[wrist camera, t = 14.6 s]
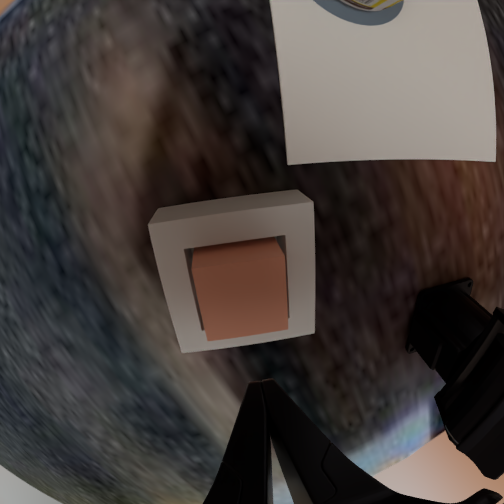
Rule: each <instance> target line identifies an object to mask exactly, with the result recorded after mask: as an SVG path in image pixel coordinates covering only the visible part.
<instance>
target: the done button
mask: <svg viewBox="0 0 504 504" xmlns="http://www.w3.org/2000/svg"><path fill="white" fill-rule="evenodd" d="M191 270H192V274H193V279H194V284H195V289H196V293H197V298H198V302H199V307H200V311H201V316H202V320H203V324H204V329H205V333H206V337H207V341H215V340H223V339H230V338H237V337H244V336H251V335H257V334H264V333H270V332H276V331H282V330H287V329H288V309H287V289H286V270H285V255H284V254H283V252H282V250H281V248H280V246H279V244H278V243H277V241H276V239H275V237H267V238H259V239H252V240H245V241H238V242H231V243H223V244H216V245H209V246H202V247H195V248H194V252H193V260H192V268H191Z"/></svg>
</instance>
